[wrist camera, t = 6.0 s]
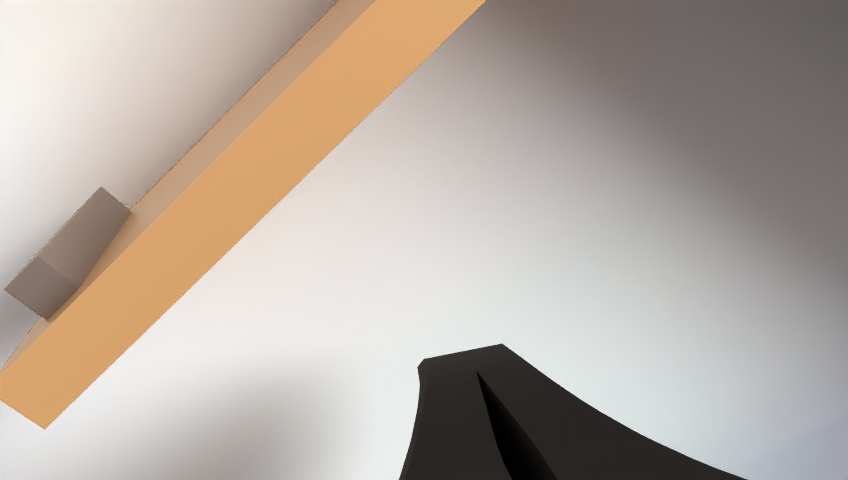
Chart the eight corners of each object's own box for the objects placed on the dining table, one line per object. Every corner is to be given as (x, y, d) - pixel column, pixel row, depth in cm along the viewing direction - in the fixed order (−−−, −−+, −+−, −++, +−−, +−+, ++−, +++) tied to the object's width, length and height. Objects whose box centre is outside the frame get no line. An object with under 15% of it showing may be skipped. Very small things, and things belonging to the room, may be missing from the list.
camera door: (128, 280, 13) (44, 429, 9) (60, 227, 12) (-62, 358, 8) (625, -212, 11) (812, -316, 7) (572, -295, 11) (737, -456, 7)
